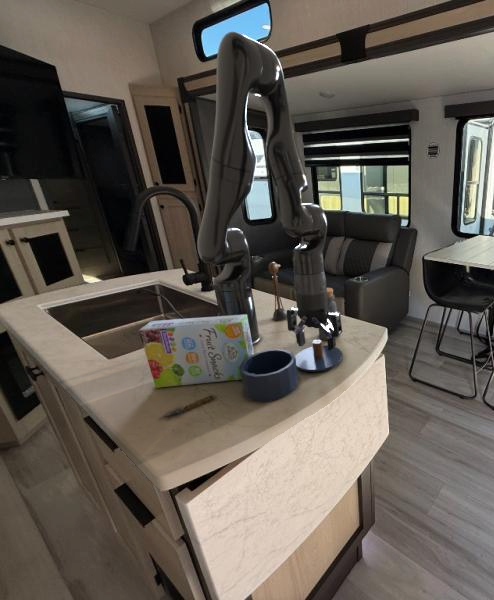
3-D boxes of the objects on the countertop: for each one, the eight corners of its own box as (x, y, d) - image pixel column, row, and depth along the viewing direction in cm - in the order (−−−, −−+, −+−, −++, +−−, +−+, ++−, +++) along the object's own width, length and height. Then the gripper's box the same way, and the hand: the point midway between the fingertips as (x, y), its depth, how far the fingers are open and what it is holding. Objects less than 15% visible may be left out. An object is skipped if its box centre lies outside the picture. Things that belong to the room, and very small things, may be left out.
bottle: (334, 341, 95) (330, 293, 90) (316, 339, 96) (311, 292, 91) (341, 332, 100) (338, 287, 95) (324, 330, 102) (320, 286, 96)
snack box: (257, 367, 82) (247, 313, 76) (252, 379, 76) (241, 322, 71) (166, 375, 78) (149, 319, 73) (154, 389, 73) (135, 329, 68)
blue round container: (233, 397, 70) (227, 371, 68) (266, 369, 81) (262, 346, 78) (278, 405, 67) (274, 379, 65) (307, 375, 78) (304, 352, 76)
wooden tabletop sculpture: (279, 313, 115) (272, 259, 108) (291, 314, 114) (284, 260, 107) (270, 320, 110) (262, 263, 103) (282, 321, 109) (274, 264, 102)
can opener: (212, 398, 70) (211, 393, 70) (215, 403, 69) (214, 398, 68) (163, 416, 65) (161, 412, 64) (164, 422, 63) (163, 418, 63)
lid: (284, 369, 80) (281, 350, 78) (310, 346, 92) (307, 328, 90) (329, 377, 77) (327, 356, 75) (350, 352, 89) (349, 333, 87)
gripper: (344, 286, 79) (347, 344, 85) (293, 282, 83) (300, 337, 88) (330, 296, 73) (335, 358, 78) (276, 290, 76) (284, 350, 82)
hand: (316, 347), depth 83 cm, fingers open, 8 cm apart
